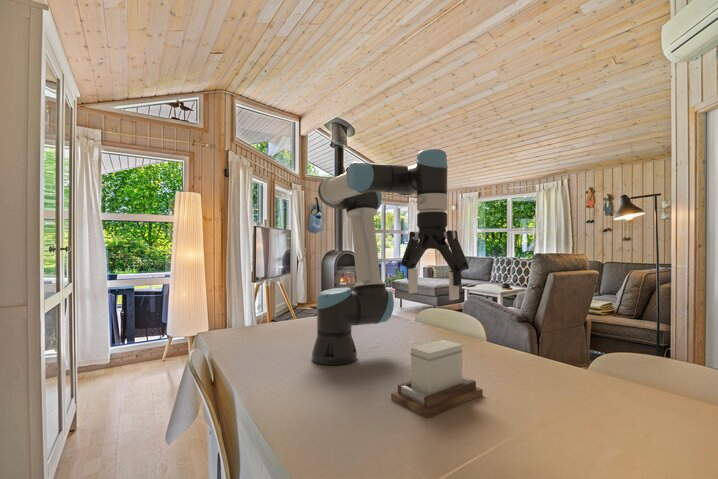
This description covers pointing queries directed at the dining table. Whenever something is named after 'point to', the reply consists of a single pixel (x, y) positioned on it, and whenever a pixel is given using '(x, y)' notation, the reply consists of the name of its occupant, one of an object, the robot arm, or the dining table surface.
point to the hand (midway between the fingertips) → (432, 296)
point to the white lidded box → (436, 366)
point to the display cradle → (436, 397)
